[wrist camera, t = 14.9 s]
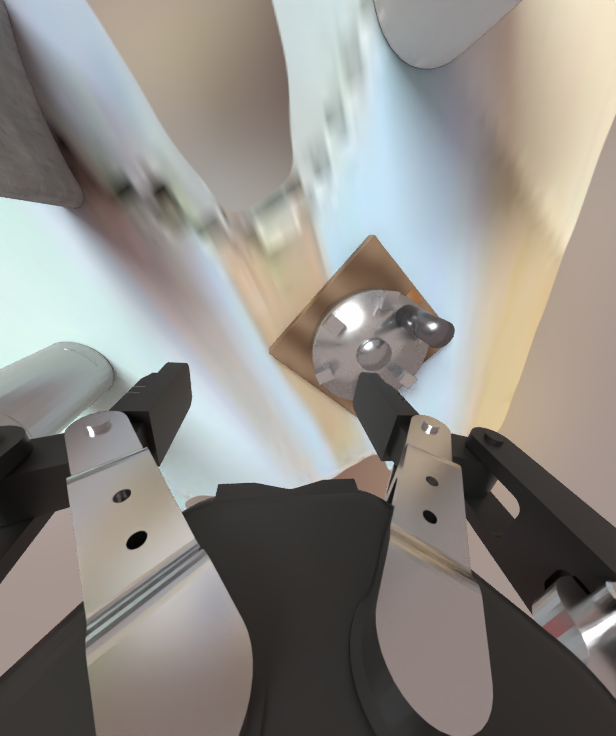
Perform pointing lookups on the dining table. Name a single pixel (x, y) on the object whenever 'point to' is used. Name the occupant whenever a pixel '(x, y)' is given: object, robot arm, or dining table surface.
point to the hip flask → (28, 136)
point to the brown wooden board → (358, 272)
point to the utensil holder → (437, 27)
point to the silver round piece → (374, 340)
